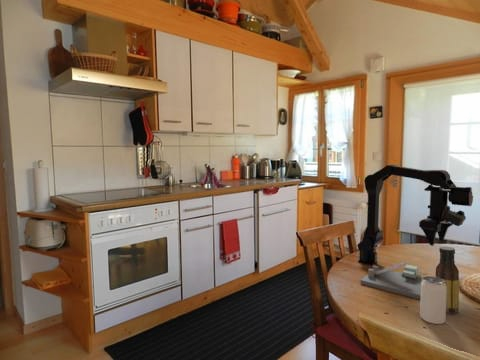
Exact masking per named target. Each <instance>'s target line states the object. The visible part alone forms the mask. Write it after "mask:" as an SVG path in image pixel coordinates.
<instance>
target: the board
mask: <svg viewBox="0 0 480 360" xmlns="http://www.w3.org/2000/svg"><path fill="white" fill-rule="evenodd" d="M380 269H383V268H382V267H379V266H377V265H375V264H373V265H372V268H368V269H367V275H365V276H363V277H362V278H361V279H360V285H364V286H368V287H371V288H375V289H379V290H381V291H386V292H390V293H395V294H399V295H402V296H405V297H406V296H407V297H410V298H413V299H417V300H420V301H421V282H422V281H423V278H424V277H422V274H420V273H418V276H417V278H416V279H414V278H410V277H405V276H404V274H403V272H400V271H399V272H398V271H395V270H389V271H386V272H382V273H379V274H376V275H374V271H377V270H380Z"/></svg>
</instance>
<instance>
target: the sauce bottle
mask: <svg viewBox="0 0 480 360" xmlns="http://www.w3.org/2000/svg"><path fill="white" fill-rule="evenodd" d="M439 254H440V255H439V263H438V264H437V266H436V267H435V276H434V277H437V278H440V279H442V280H444V281H445V285H446V287H447V293H446V315H447V314H448V315H456V314H457V313H458V312H459V306H460V275H459V274H460V273H459V272H460V271H459V269H458V267H457V266H456V264H455V262H456V261H455V254H456V249H455V248H454V247H452V246H447V245H446V246H445V245H443V246H440V247H439Z"/></svg>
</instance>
